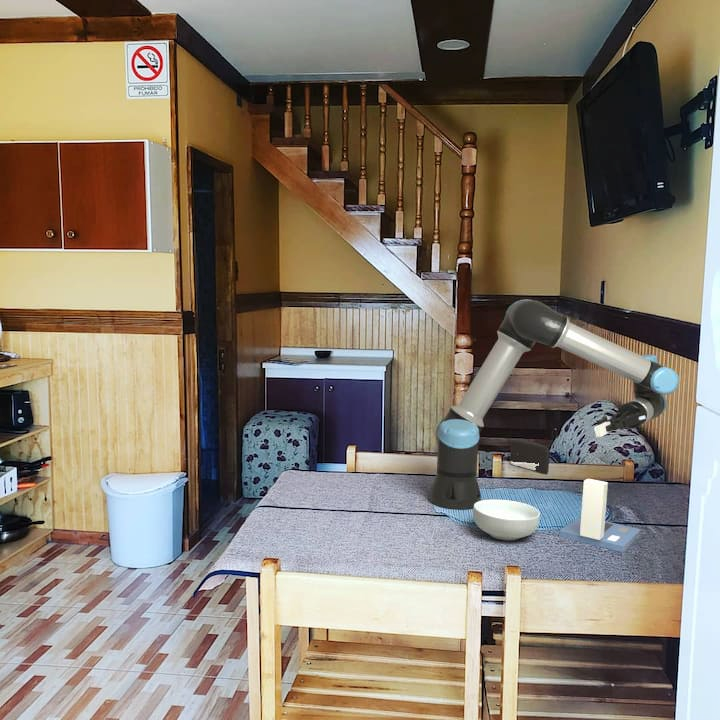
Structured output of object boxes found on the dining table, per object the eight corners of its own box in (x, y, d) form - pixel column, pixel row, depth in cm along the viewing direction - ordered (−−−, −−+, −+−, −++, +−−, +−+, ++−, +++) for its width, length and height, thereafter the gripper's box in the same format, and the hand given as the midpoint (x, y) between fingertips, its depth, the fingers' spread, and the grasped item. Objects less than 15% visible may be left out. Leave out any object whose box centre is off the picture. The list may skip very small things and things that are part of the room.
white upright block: (583, 532, 174) (587, 478, 172) (603, 536, 171) (607, 482, 169) (579, 535, 171) (583, 480, 170) (599, 540, 168) (604, 484, 167)
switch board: (580, 520, 188) (580, 515, 188) (640, 535, 178) (641, 529, 178) (558, 536, 175) (559, 530, 175) (622, 552, 166) (623, 546, 165)
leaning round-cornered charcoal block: (553, 473, 238) (555, 446, 237) (546, 475, 235) (547, 448, 234) (516, 463, 250) (517, 438, 249) (508, 464, 247) (509, 439, 246)
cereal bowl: (548, 547, 167) (550, 519, 166) (481, 547, 165) (483, 519, 165) (525, 524, 184) (527, 498, 183) (465, 523, 182) (466, 497, 182)
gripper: (659, 423, 195) (623, 443, 179) (616, 427, 205) (578, 447, 189) (653, 398, 196) (617, 416, 179) (611, 403, 205) (572, 420, 189)
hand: (597, 432), depth 184 cm, fingers closed
